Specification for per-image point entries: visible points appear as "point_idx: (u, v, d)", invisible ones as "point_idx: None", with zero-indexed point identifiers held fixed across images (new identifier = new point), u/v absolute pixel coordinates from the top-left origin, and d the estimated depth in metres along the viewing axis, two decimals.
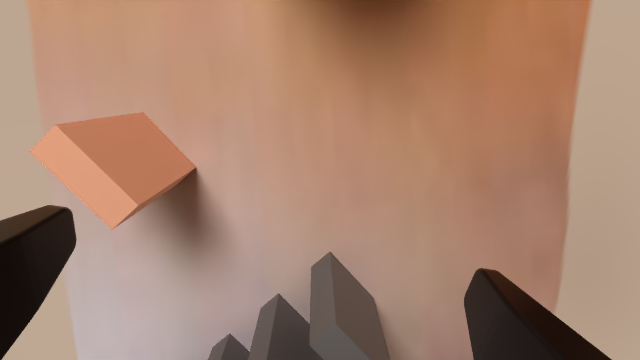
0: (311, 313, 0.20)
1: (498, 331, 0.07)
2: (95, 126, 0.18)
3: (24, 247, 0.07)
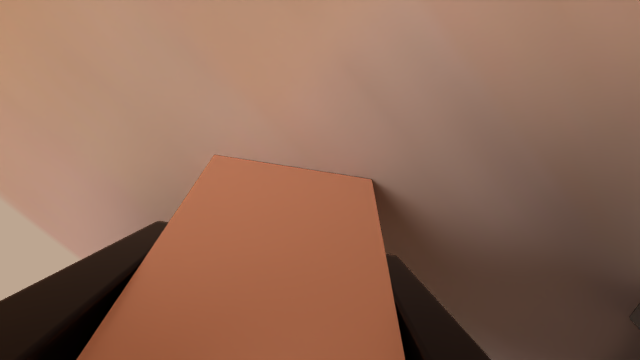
0: None
1: None
2: (136, 312, 0.06)
3: None
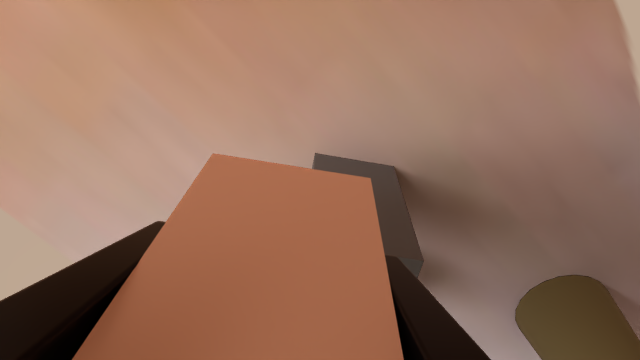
0: None
1: None
2: (133, 311, 0.06)
3: None
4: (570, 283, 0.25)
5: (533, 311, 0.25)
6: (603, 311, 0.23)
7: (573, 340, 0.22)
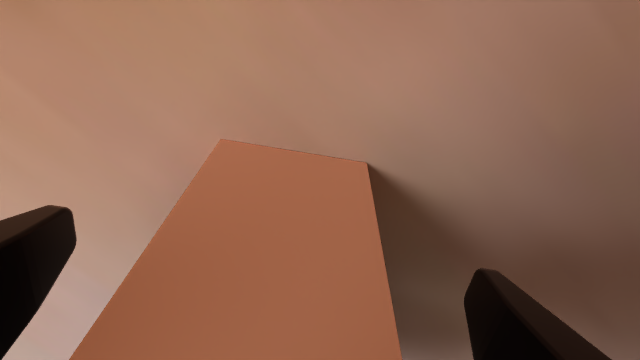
0: None
1: (498, 331, 0.07)
2: (158, 265, 0.07)
3: (24, 247, 0.07)
4: None
5: None
6: None
7: None
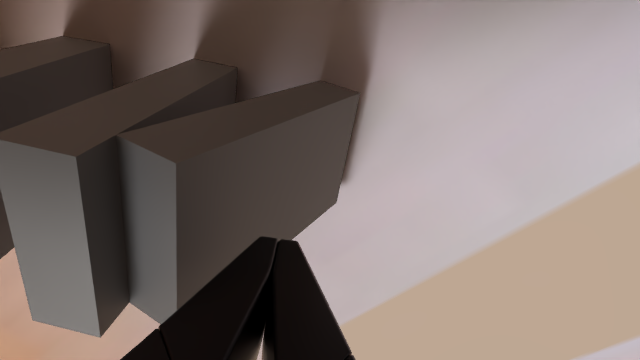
0: None
1: (268, 299, 0.07)
2: None
3: (269, 282, 0.07)
4: None
5: None
6: None
7: None
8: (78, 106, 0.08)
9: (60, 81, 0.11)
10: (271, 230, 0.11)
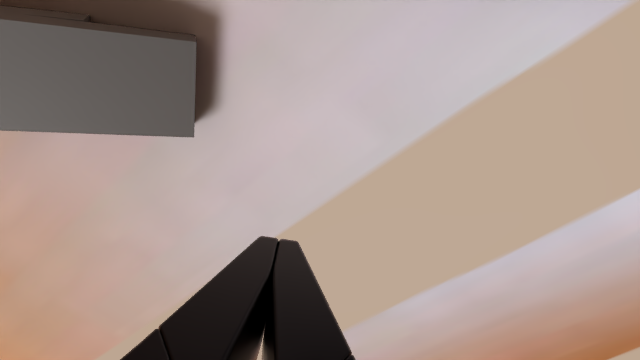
0: None
1: (269, 299, 0.07)
2: None
3: (269, 282, 0.07)
4: None
5: None
6: None
7: None
8: None
9: None
10: (83, 110, 0.17)
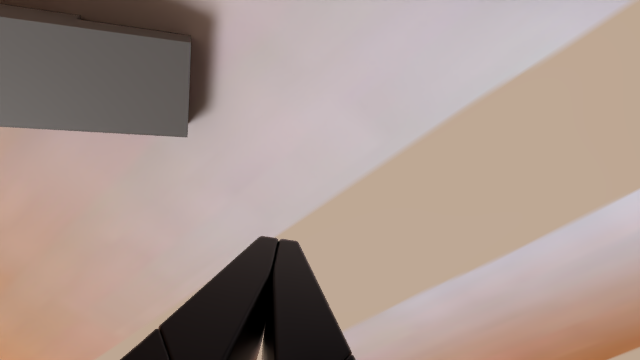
0: None
1: (268, 299, 0.07)
2: None
3: (269, 282, 0.07)
4: None
5: None
6: None
7: None
8: None
9: None
10: (76, 108, 0.17)
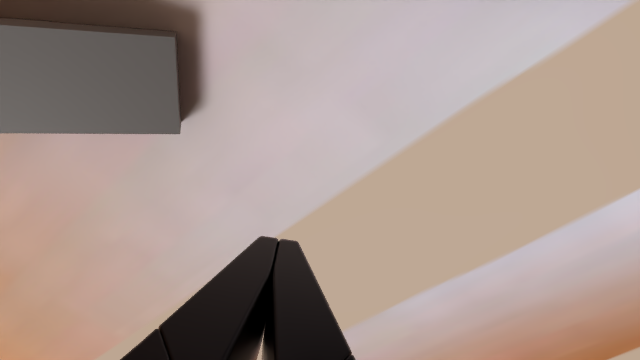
0: None
1: (268, 299, 0.07)
2: None
3: (269, 282, 0.07)
4: None
5: None
6: None
7: None
8: None
9: None
10: (68, 110, 0.17)
